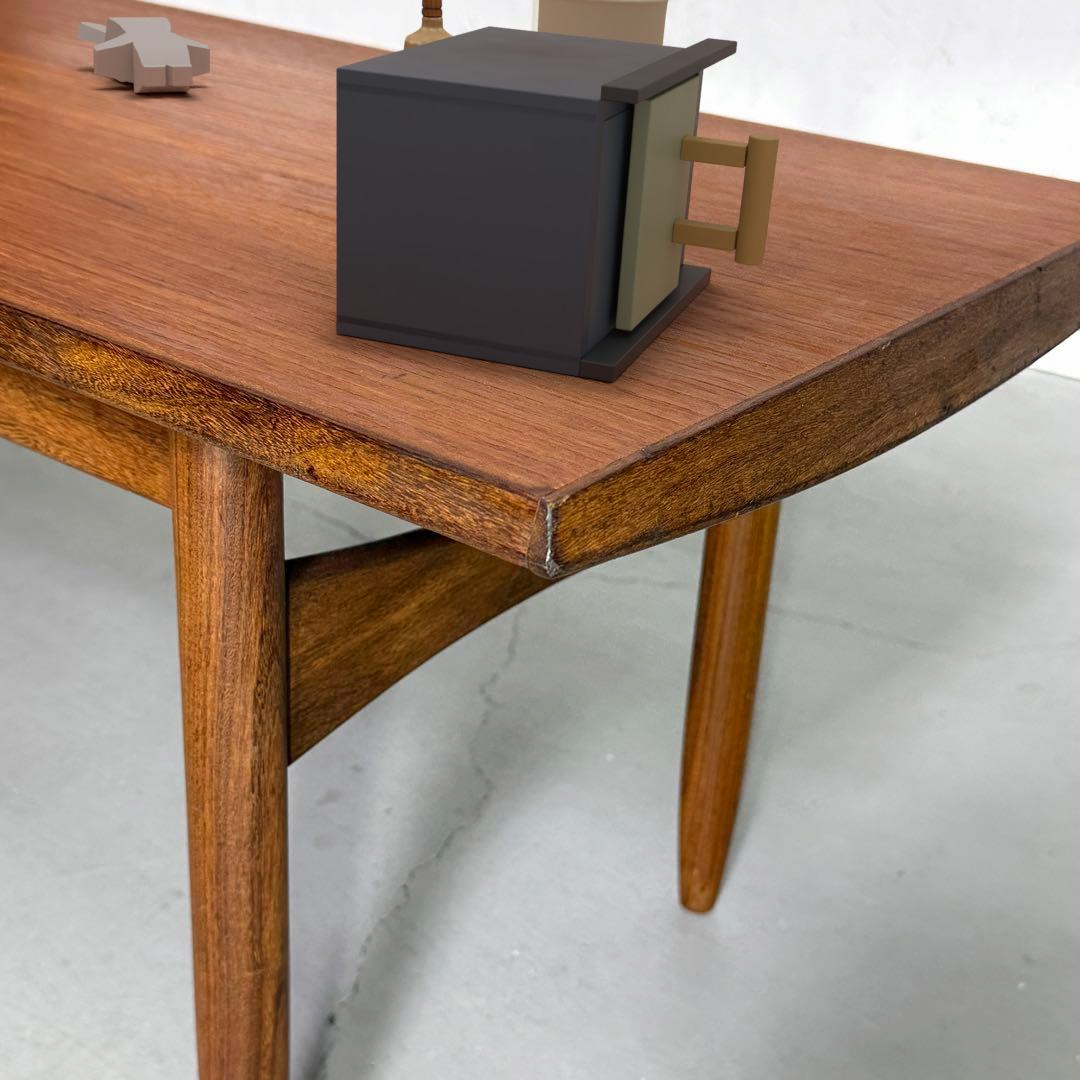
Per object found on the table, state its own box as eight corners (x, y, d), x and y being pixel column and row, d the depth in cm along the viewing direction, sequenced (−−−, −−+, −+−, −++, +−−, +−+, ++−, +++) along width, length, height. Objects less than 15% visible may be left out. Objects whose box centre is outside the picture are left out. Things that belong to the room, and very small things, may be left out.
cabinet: (710, 282, 81) (737, 41, 75) (613, 383, 66) (638, 89, 60) (479, 246, 85) (488, 14, 79) (335, 333, 69) (335, 53, 64)
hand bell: (442, 119, 119) (449, -98, 112) (359, 103, 122) (361, -107, 115) (499, 106, 125) (508, -99, 118) (419, 92, 129) (423, -108, 122)
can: (663, 153, 112) (679, -17, 106) (642, 177, 104) (659, -5, 98) (543, 140, 113) (554, -28, 108) (514, 163, 105) (524, -17, 100)
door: (765, 300, 74) (792, 86, 70) (726, 347, 67) (754, 112, 63) (663, 283, 76) (683, 73, 71) (614, 329, 69) (634, 98, 64)
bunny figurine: (108, 47, 115) (62, -2, 126) (110, 112, 118) (65, 59, 129) (226, 45, 120) (172, -2, 130) (226, 108, 122) (173, 57, 133)
